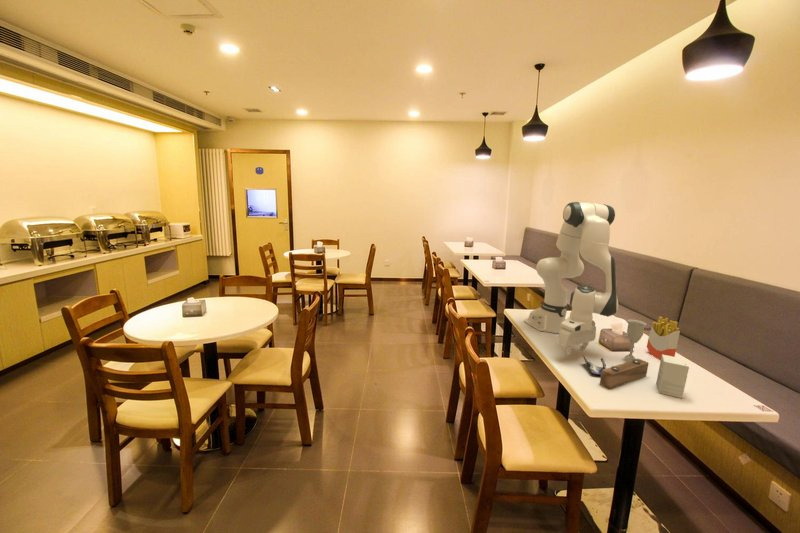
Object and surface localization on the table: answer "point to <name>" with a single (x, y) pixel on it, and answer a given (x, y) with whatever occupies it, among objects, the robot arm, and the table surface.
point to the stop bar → (623, 373)
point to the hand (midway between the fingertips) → (575, 352)
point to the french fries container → (663, 338)
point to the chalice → (634, 336)
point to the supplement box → (672, 376)
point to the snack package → (595, 366)
